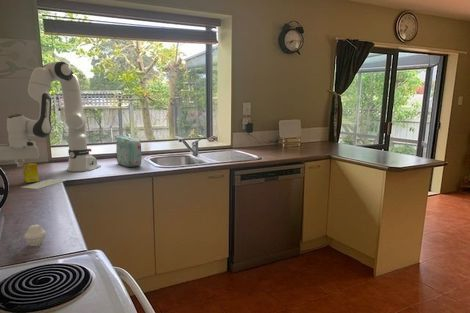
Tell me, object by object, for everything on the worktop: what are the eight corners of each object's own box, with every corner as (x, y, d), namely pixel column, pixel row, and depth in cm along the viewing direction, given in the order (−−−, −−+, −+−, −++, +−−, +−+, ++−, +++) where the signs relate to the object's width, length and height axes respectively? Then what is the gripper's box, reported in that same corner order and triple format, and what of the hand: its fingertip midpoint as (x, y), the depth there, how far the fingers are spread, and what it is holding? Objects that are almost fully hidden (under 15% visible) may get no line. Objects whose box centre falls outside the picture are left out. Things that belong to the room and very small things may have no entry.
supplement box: (24, 182, 192) (22, 163, 190) (35, 180, 196) (34, 162, 194) (26, 184, 187) (25, 165, 186) (38, 182, 192) (37, 163, 190)
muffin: (21, 245, 109) (19, 225, 108) (41, 239, 114) (39, 219, 113) (31, 250, 106) (29, 229, 104) (50, 243, 111) (48, 223, 109)
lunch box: (114, 163, 251) (112, 135, 248) (127, 162, 258) (126, 134, 254) (129, 169, 232) (128, 138, 228) (143, 167, 239) (142, 137, 235)
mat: (50, 179, 199) (50, 178, 199) (65, 180, 196) (65, 180, 196) (20, 187, 180) (20, 187, 180) (36, 189, 177) (36, 188, 177)
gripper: (-5, 144, 182) (-3, 169, 184) (38, 142, 192) (40, 166, 195) (-4, 143, 188) (-1, 167, 190) (38, 141, 198) (40, 164, 200)
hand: (20, 166), depth 192 cm, fingers closed
